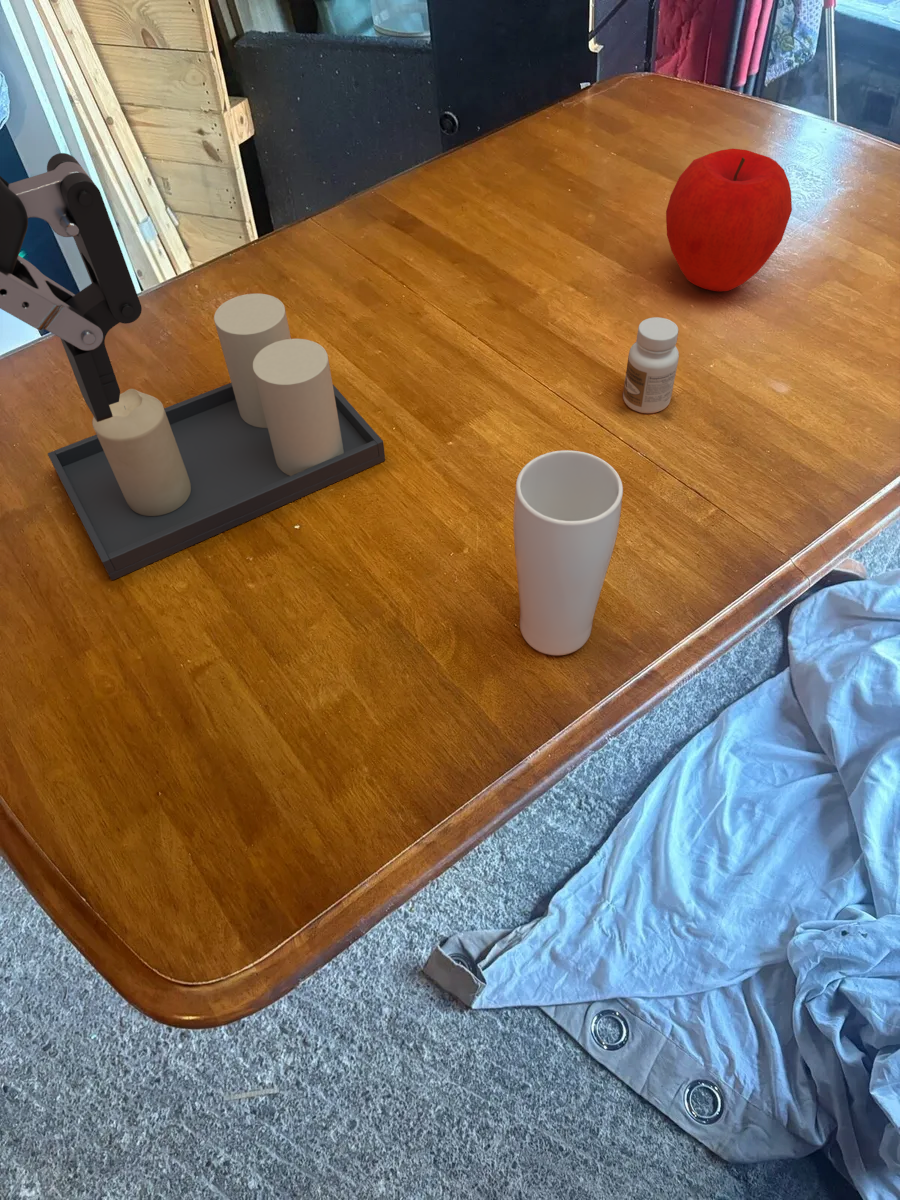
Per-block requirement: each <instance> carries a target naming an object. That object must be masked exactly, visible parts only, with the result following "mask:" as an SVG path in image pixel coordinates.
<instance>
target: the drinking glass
mask: <svg viewBox="0 0 900 1200" xmlns="http://www.w3.org/2000/svg"><path fill="white" fill-rule="evenodd" d="M623 494H624V486H623V481H622V479H621V476H620V475H619V473H618V472H617V471H616V469H615V468H614V467H613V466H612V465H611V464H610V463H608V462H607V461H605V460H604V459H603V458H601V457H598V456H597V455H595V454H592V453H588V452H585V451H581V450H580V451H579V450H574V449H573V450H570V449H569V450H568V449H564V450H562V449H561V450H554V451H549V452H546V453H543V454H540V455H538V456H536V457H534V458H533V459H531V460H530V461H528V462H527V463H526V464H525V465H523V467H522V468H521V470H520V471H519V473H518V475H517V477H516V482H515V491H514V500H513V501H514V502H513V515H512V516H513V519H512V521H513V522H512V523H513V526H512V527H513V529H512V531H513V542H514V543H513V544H514V545H513V546H514V555H515V567H516V577H517V590H518V599H519V600H518V601H519V629H520V633H521V635H522V638H523V639H524V640H525V642H526V643H527V644H528V645H529V646H530V647H531V648H532V649H534V650H535V651H537V652H539V653H541V654H545V655H548V656H566V655H569V654H572V653H575V652H576V651H578V650H580V649H581V648H582V647H583V646H584V645H585V644H586V643H587V642H588V640H589V639H590V636H591V634H592V629H593V624H594V618H595V614H596V610H597V607H598V604H599V601H600V596H601V594H602V590H603V587H604V583H605V580H606V577H607V573H608V569H609V566H610V563H611V559H612V556H613V554H614V549H615V546H616V542H617V538H618V532H619V528H620V523H621V514H622V505H623Z"/></svg>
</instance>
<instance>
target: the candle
mask: <svg viewBox="0 0 900 1200" xmlns="http://www.w3.org/2000/svg"><path fill="white" fill-rule="evenodd" d="M109 406H110V409H111V412H112V415H113V417H111V418H108V419H105V420H102V421H99V422H97V421H96V419H95V418H94V416H93V417H92V422H91V424H92V428H93V431H94V432H95V435H97V437H98V439H99V441H100V444H101V446H102V448H103V450H104V453H105V455H106V457H107V459H108V462H109V464H110V466H111V468H112V471H113V473H114V475H115V477H116V480H117V482H118V484H119V486H120V489H121V491H122V493H123V495H124V497H125V500H126V502H127V504H128V505H129V507H130V508H131V509H132V510H133V511H135V512H136V513H138V514H141V515H145V516H159V515H164V514H167V513H170V512H172V511H174V510H176V509H178V508H179V507H180V506H182V505H183V504H184V503H185V502H186V501H187V499H188V497H189V495H190V492H191V484H190V480H189V477H188V474H187V471H186V469H185V466H184V463H183V460H182V457H181V455H180V452H179V449H178V446H177V443H176V441H175V438H174V435H173V432H172V429H171V427H170V424H169V421H168V418H167V415H166V413H165V410H164V408H165V407H164V404H163V403H162V401H161V400H160V399H158V398H157V397H155V396H153V395H150V394H148V393H146V392H142V391H140V390H137V389H135V388H129V389H127V390H125V391H124V392H122V393H120V398H119V402H117V403H114V404H111V405H109Z"/></svg>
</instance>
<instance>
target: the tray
mask: <svg viewBox="0 0 900 1200" xmlns="http://www.w3.org/2000/svg"><path fill="white" fill-rule="evenodd" d="M333 390H334V396H335V402H336V408H337V414H338V420H339V426H340V432H341V438H342V444H343V450H344V453H343V454H341V455H338V456H336V457H334V458H332V459H329V460H327V461H325V462H322V463H320V464H318V465H315V466H313V467H311V468H308V469H306V470H304V471H301V472H299V473H297V474H294V475H292V476H289V475H287V474H285V473H284V472H283V471H281V470H280V468H279V467H278V465H277V463H276V459H275V455H274V451H273V447H272V443H271V439H270V435H269V431H268V428H259V427H255V426H252V425H250V424H248V423H246V422H245V421H244V420H243V419H242V417H241V416H240V413H239V409H238V405H237V402H236V398H235V394H234V391H233V387H232V383H231V382H229V383H227V384H224V385H221V386H218V387H216V388H213V389H211V390H208V391H206V392H202V393H201V394H198V395H195V396H193V397H190V398H188V399H187V398H186V399H185V400H182V401H180V402H177V403H175V404H172V405H169V406H167V407H164V410H165V413H166V415H167V418H168V421H169V424H170V427H171V429H172V432H173V435H174V438H175V441H176V443H177V446H178V449H179V452H180V455H181V457H182V460H183V463H184V466H185V469H186V471H187V474H188V477H189V480H190V484H191V492H190V495H189V497H188V499H187V501H186V502H185V503H184V504H183V505H182V506H180V507H179V508H178V509H176V510H174V511H172V512H170V513H167V514H164V515H159V516H145V515H141V514H138V513H136V512H135V511H133V510H132V509H131V508H130V507H129V505H128V504H127V502H126V500H125V497H124V495H123V493H122V491H121V489H120V486H119V484H118V482H117V480H116V477H115V475H114V473H113V471H112V468H111V466H110V464H109V462H108V459H107V457H106V455H105V453H104V450H103V448H102V446H101V444H100V441H99V439H98V437H97V435H96V434H93V435H92V436H88V437H86V438H84V439H81V440H78V441H76V442H73V443H70V444H67V445H65V446H62V447H61V448H58V449H55V450H52V451H49V452H47V456H48V458H49V460H50V462H51V464H52V466H53V468H54V470H55V472H56V474H57V476H58V478H59V480H60V482H61V483H62V485H63V487H64V490H65V491H66V493H67V496H68V497H69V499H70V502H71V503H72V505H73V507H74V510H75V511H76V513H77V516H78V517H79V519H80V521H81V523H82V525H83V527H84V530H85V531H86V533H87V535H88V538H89V539H90V542H91V543H92V545H93V547H94V548H95V551H96V553H97V555H98V557H99V559H100V561H101V563H102V565H103V566H104V568H105V571H106V573H107V575H108V576H109V578H110V580H111V581H114V580H117V579H119V578H122V577H124V576H126V575H128V574H131V573H133V572H135V571H137V570H140V569H142V568H144V567H147V566H149V565H151V564H153V563H156V562H158V561H160V560H163V559H164V558H167V557H170V556H171V555H174V554H176V553H179V552H180V551H183V550H185V549H187V548H191V547H193V546H194V545H196V544H199V543H201V542H203V541H206V540H207V539H210V538H212V537H215V536H217V535H219V534H221V533H224V532H226V531H229V530H231V529H233V528H235V527H238V526H240V525H242V524H245V523H247V522H249V521H251V520H254V519H255V518H258V517H260V516H262V515H265V514H267V513H269V512H271V511H274V510H276V509H278V508H281V507H283V506H285V505H288V504H289V503H292V502H294V501H296V500H299V499H302V498H303V497H306V496H308V495H311V494H312V493H315V492H317V491H319V490H322V489H324V488H326V487H329V486H331V485H334V484H336V483H337V482H340V481H342V480H344V479H347V478H349V477H351V476H354V475H356V474H358V473H360V472H363V471H365V470H367V469H370V468H372V467H374V466H377V465H379V464H381V463H384V462H385V461H386V455H385V454H386V453H385V452H386V451H385V445H384V440H383V439H382V438H381V437H380V436H379V435H378V433H376V431H375V430H374V429H373V428H372V427H371V426H370V424H369V423H368V422H367V421H366V420H365V418H363V416H362V415H361V414H360V413H359V412H358V411H357V409H356V408H355V407H353V405H352V404H351V403H350V402H349V401H348V399H347V398H346V397H345V396H344V394H342V393H341V392H340V391H339V389H338V388H337V387H336V386H335V384H333Z"/></svg>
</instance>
